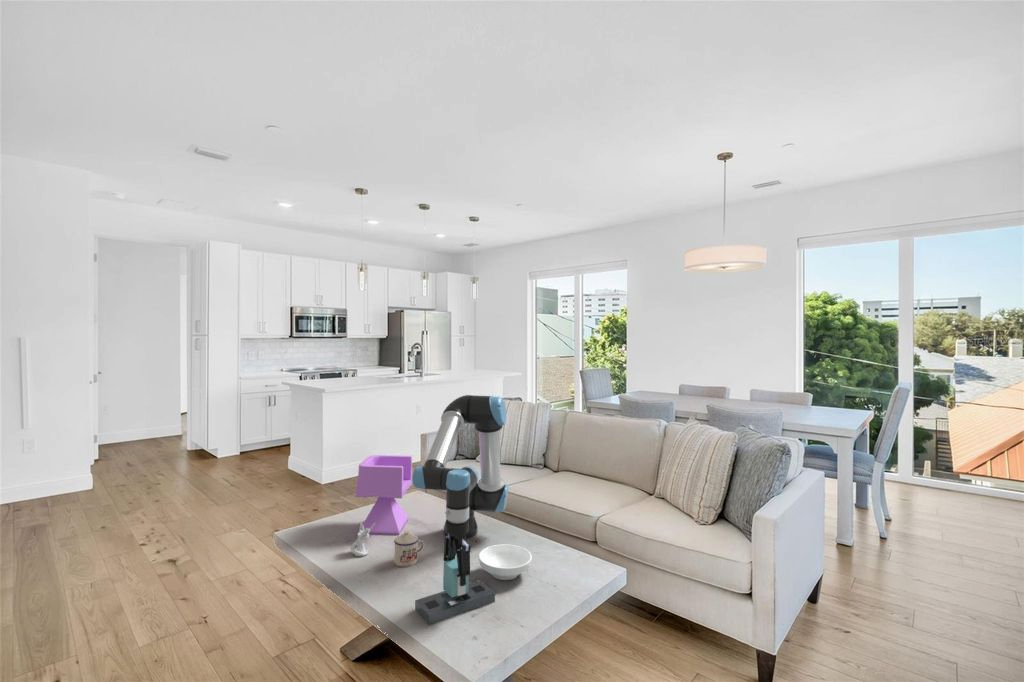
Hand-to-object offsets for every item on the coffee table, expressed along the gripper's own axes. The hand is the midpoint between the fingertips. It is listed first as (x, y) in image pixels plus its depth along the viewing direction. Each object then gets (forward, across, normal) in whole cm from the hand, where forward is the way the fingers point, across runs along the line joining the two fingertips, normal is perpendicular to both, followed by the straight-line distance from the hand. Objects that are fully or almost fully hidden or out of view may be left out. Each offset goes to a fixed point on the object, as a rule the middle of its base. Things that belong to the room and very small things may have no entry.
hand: (455, 589), depth 158 cm
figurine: (+6, -54, -12) cm, 56 cm away
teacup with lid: (+5, -37, 0) cm, 37 cm away
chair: (+5, -74, +4) cm, 74 cm away
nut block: (0, 0, 0) cm, 0 cm away
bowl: (+5, -8, +25) cm, 27 cm away
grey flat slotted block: (+5, 0, 0) cm, 5 cm away
